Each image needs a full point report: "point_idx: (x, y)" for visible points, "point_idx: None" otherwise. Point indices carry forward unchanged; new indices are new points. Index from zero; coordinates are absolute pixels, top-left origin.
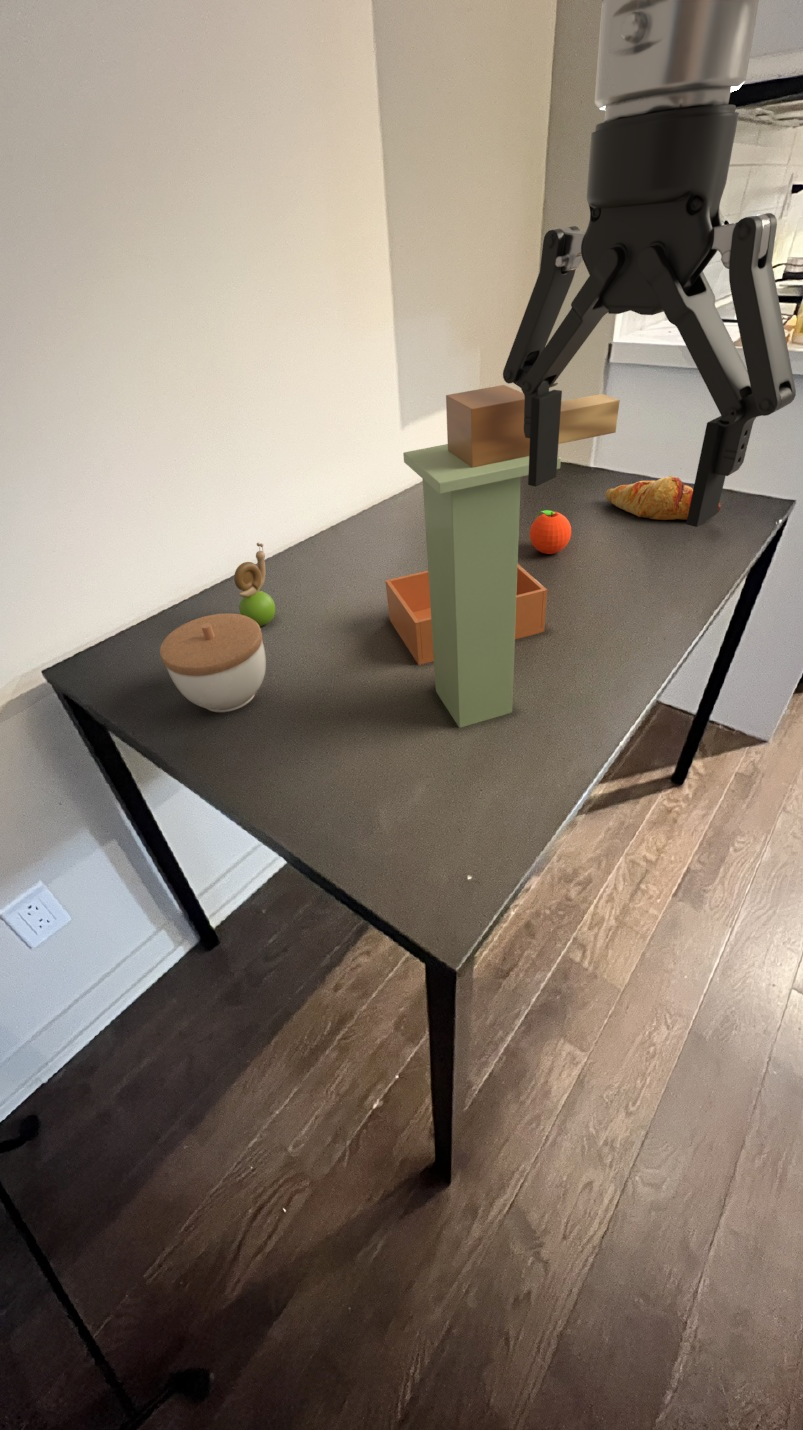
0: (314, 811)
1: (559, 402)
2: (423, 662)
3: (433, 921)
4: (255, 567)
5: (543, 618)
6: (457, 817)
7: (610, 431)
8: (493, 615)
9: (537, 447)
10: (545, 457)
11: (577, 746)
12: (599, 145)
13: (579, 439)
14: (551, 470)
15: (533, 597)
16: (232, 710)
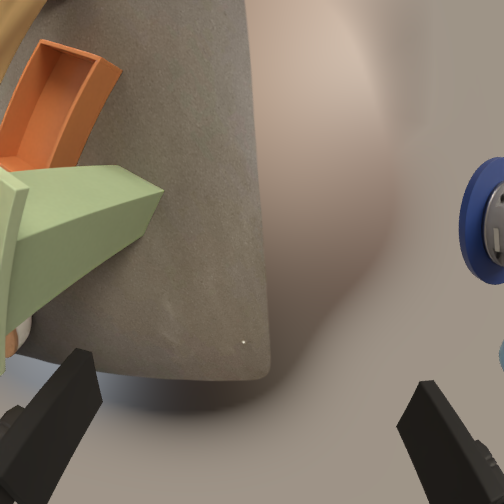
0: (135, 353)
1: (16, 461)
2: None
3: (246, 371)
4: None
5: (115, 68)
6: (205, 311)
7: (42, 2)
8: (108, 230)
9: (74, 450)
10: (77, 413)
11: (234, 193)
12: None
13: (5, 72)
14: (86, 376)
15: (95, 72)
16: (31, 315)
